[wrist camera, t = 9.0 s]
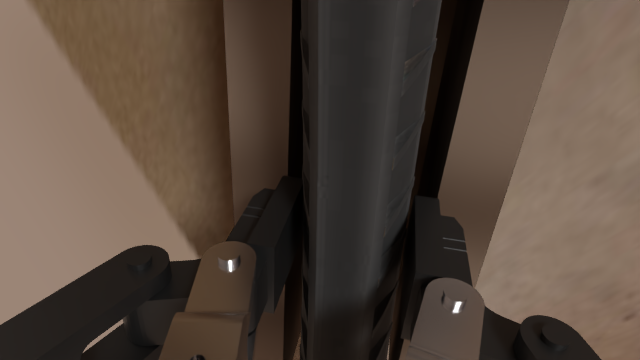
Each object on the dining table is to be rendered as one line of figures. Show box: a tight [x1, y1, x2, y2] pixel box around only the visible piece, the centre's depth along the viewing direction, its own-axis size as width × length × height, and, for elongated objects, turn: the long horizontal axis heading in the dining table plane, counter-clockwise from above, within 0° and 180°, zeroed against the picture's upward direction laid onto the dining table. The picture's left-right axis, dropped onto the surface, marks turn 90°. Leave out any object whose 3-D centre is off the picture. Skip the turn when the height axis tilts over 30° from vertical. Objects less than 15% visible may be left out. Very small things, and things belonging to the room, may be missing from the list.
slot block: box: [223, 0, 569, 360], centre depth 18 cm, size 24×9×7 cm, turn 176°
